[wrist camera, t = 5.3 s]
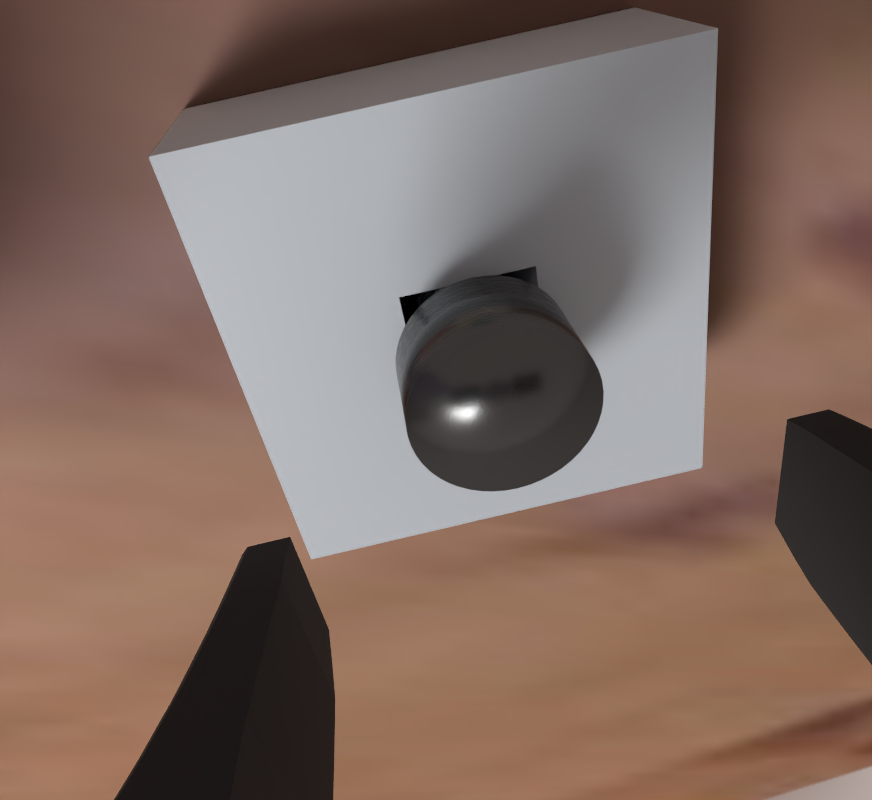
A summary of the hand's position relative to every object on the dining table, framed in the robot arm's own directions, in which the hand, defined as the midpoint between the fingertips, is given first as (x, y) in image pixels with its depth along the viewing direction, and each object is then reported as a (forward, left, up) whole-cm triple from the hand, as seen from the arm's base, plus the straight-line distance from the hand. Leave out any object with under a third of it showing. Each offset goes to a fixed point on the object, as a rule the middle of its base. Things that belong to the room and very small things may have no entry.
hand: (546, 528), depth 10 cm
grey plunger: (0, 0, -9) cm, 9 cm away
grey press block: (0, 0, -10) cm, 10 cm away
